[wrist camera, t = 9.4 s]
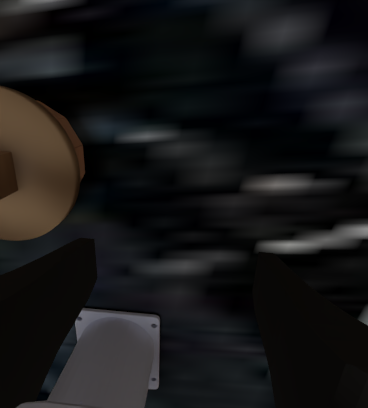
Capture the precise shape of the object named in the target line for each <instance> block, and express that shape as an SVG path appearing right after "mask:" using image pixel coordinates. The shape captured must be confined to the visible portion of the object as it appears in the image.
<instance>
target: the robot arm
mask: <svg viewBox="0 0 368 408" xmlns="http://www.w3.org/2000/svg"><path fill="white" fill-rule="evenodd" d="M96 280H97V268H96V256H95V243H94V239H88V238H79V239H77V240H75V241H72V242H70V243H68V244H66V245H64V246H63V247H61V248H59V249H57V250H55V251H53V252H51V253H49V254H47V255H45V256H43V257H41V258H39V259H37V260H35V261H32V262H30V263H28V264H26V265H24V266H22V267H20V268H17V269H15V270H13V271H10V272H8V273H5V274H3V275H0V408H144V407H145V402H146V397H147V392H148V389H157V388H158V386H159V353H160V317H159V316H157V315H153V314H143V313H132V312H121V311H111V310H100V309H90V308H83V307H84V306H85V304H86V302H87V300H88V299H89V297H90V294H91V292H92V290H93V287H94V285H95V282H96ZM252 293H253V301H254V309H255V315H256V319H257V323H258V326H259V330H260V334H261V338H262V342H263V346H264V349H265V353H266V357H267V361H268V365H269V370H270V374H271V381H272V387H273V393H274V400H275V407H276V408H368V326H367V325H366V324H364V323H362V322H360V321H359V320H357V319H355V318H353V317H352V316H350V315H349V314H347V313H345V312H344V311H342V310H341V309H340V308H338V307H337V306H335V305H334V304H332V303H331V302H329V301H328V300H327V299H325V298H324V297H323V296H321V295H320V294H319V293H317V292H316V291H315V290H314V289H312V288H311V287H310V286H309V285H308V284H306V283H305V282H304V281H303V280H302V279H301V278H300V277H298V276H297V275H296V274H295V273H294V272H293V271H292V270H291V269H290V268H289V267H288V266H287V265H286V264H284V263H283V262H282V261H281V260H280V259H279V258H278V257H277V256H276V255H275V254H274V253H263V252H259V254H258V260H257V266H256V272H255V278H254V284H253V290H252ZM80 317H81V318H80ZM74 322H75V327H76V334H77V344H76V346H75V348H74V350H73V352H72V354H71V356H70V358H69V359H68V361H67V363H66V365H65V367H64V369H63V371H62V373H61V375H60V377H59V379H58V381H57V382H56V384H55V386H54V388H53V390H52V392H51V394H50V396H49V398H48V400H47V401H36V399H37V396H38V394H39V392H40V389H41V387H42V385H43V383H44V380H45V378H46V376H47V374H48V371H49V369H50V367H51V365H52V363H53V361H54V358H55V356H56V354H57V352H58V350H59V348H60V346H61V345H62V343H63V341H64V339H65V338H66V336H67V334H68V332H69V331H70V329H71V327H72V326H73V324H74ZM153 324H156V325H153ZM35 401H36V402H35Z"/></svg>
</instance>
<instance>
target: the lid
mask: <svg viewBox="0 0 368 408" xmlns="http://www.w3.org/2000/svg"><path fill="white" fill-rule="evenodd" d="M79 189H80V168H79V161H78V158H77V154H76V151H75V149H74V146H73V144H72V141H71V140H70V138H69V136H68V134H67V132H66V131H65V129H64V128H63V127H62V125H61V124H60V122H59V121H58V120H57V119H56V118H55V117H54V116H53V115H52V113H51V112H49V111H48V110H47V109H46V108H45V107H44V106H43V105H41V104H40V103H39V102H37V101H36V100H34V99H33V98H31V97H29V96H28V95H26V94H24V93H22V92H19V91H17V90H14V89H12V88H8V87H4V86H0V239H4V240H28V239H32V238H36V237H39V236H41V235H44V234H46V233H47V232H49V231H51V230H52V229H53V228H54V227H56V226H57V225H58V224H59V223H60V222H61V221H62V220H64V219H65V218H66V216H67V215H68V214H69V213H70V211H71V210H72V208H73V207H74V205H75V202H76V200H77V197H78V193H79Z"/></svg>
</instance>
